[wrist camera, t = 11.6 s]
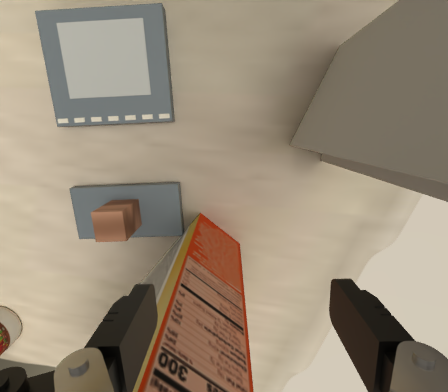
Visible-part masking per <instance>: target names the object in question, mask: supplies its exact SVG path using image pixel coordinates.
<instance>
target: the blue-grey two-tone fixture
mask: <svg viewBox="0 0 448 392" xmlns="http://www.w3.org/2000/svg"><path fill="white" fill-rule="evenodd" d="M69 189H70V194H71V199H72V204H73V209H74V214H75V220H76V225H77V230H78V235H79V239H96V242H111V241H127V240H128V239H129V238H130V237H155V236H182V235H183V233H184V225H183V214H182V202H181V191H180V182H170V183H145V184H120V185H95V186H75V187H72V188H69Z"/></svg>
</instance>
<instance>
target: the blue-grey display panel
mask: <svg viewBox="0 0 448 392" xmlns="http://www.w3.org/2000/svg"><path fill="white" fill-rule="evenodd" d="M35 14H36V19H37V24H38V29H39V34H40V40H41V45H42V50H43V55H44V60H45V65H46V70H47V76H48V81H49V86H50V91H51V96H52V101H53V106H54V112H55V117H56V122H57V127H70V126H91V125H112V124H133V123H155V122H175V119H174V108H173V96H172V85H171V73H170V62H169V50H168V39H167V28H166V16H165V9H164V7H163V5H162V3H157V4H140V5H124V6H108V7H91V8H75V9H58V10H42V11H35Z"/></svg>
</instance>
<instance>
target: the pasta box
mask: <svg viewBox="0 0 448 392" xmlns="http://www.w3.org/2000/svg"><path fill="white" fill-rule="evenodd" d="M140 284H153V285H154V288H155V296H156V304H157V312H158V321H157V327H156V330H155V332H154V335H153V338H152V341H151V343H150V346H149V349H148V351H147V354H146V357H145V359H144V362H143V365H142V368H141V370H140V373H139V376H138V378H137V381H136V384H135V386H134V389H133V392H253V382H252V372H251V361H250V350H249V339H248V328H247V318H246V307H245V296H244V285H243V274H242V264H241V253H240V244H239V243H238V242H237V241H235V240H234V239H233V238H232V237H230V236H229V235H228V234H227V233H225V232H224V231H223V230H221V229H220V228H219V227H218V226H216V225H215V224H214V223H213V222H211V221H210V220H209V219H208V218H206V217H205V216H204V215H202V214H201V213H200V214H199V215H198V216H197V217H196V219H195V220H194V221H193V222H192V223H191V224H190V226H189V227H188V228H187V229H186V230H185V231H184V233H183V235H182V236H180V237H179V238H178V240H177V241H176V242H175V243H174V244H173V245H172V247H171V248H170V249H169V250H168V251H167V252H166V254H165V255H164V256H163V257H162V258H161V259H160V261H159V262H158V263H157V264H156V265H155V266H154V268H153V269H152V270H151V271H150V272H149V273H148V275H147V276H146V277H145V278H144V279H143V281H142V282H141V283H140Z"/></svg>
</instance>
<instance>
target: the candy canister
mask: <svg viewBox="0 0 448 392" xmlns="http://www.w3.org/2000/svg"><path fill="white" fill-rule="evenodd" d="M21 329H22V325H21V322H20V320H19V318H18V317H17V315H16V314H15V313H14V312H12V311H11V310H9V309H7V308H5V307H1V306H0V355H1V354H2V353H3V352H4V351H5V350H6V349H7V348H8V347H9V346H10V345H11V344H12V343H13V342H14V341H15V340H16V339H17V338H18V337H19V335H20V333H21Z"/></svg>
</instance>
